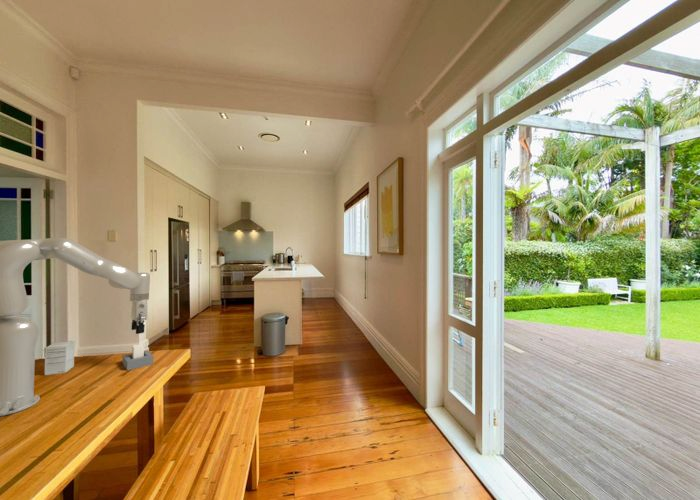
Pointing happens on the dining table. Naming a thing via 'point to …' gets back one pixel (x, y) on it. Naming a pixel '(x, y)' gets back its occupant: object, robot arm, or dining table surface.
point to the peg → (137, 351)
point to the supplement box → (59, 357)
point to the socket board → (137, 360)
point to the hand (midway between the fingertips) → (137, 331)
